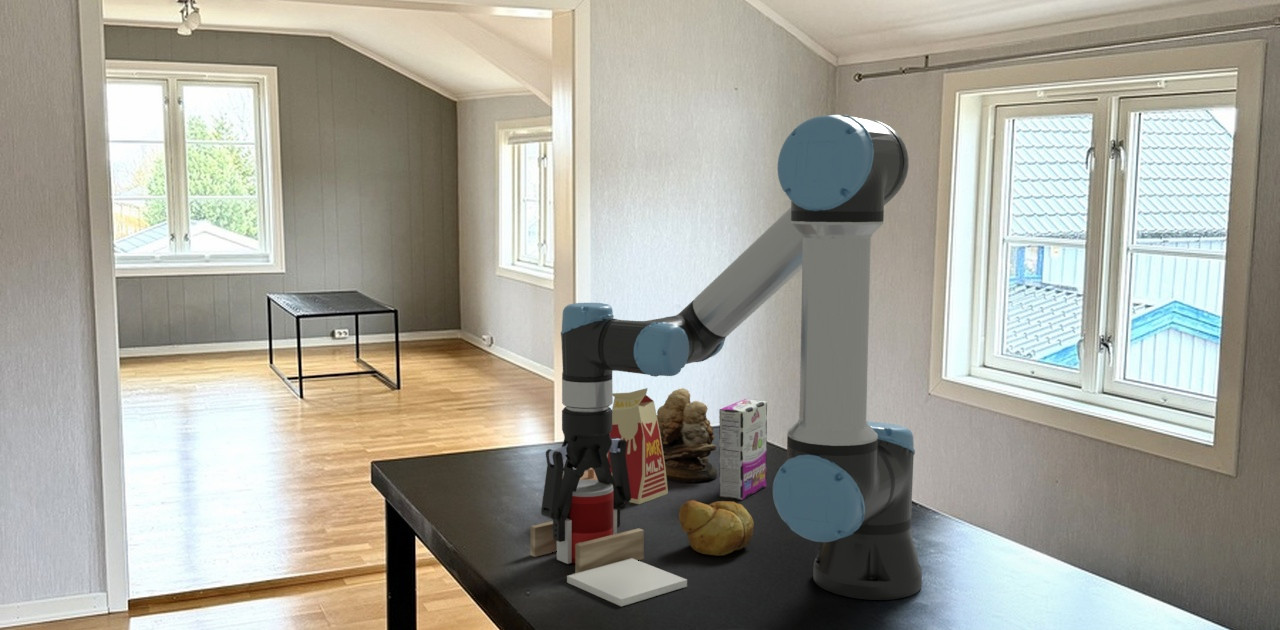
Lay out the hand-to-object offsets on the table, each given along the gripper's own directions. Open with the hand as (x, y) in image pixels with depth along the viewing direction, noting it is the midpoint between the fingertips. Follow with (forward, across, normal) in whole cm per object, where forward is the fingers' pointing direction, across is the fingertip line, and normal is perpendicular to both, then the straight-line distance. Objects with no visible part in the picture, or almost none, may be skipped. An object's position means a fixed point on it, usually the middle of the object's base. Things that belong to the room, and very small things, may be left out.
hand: (587, 554), depth 172 cm
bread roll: (+1, -19, +10) cm, 22 cm away
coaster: (0, +3, +13) cm, 13 cm away
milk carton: (+1, -28, -22) cm, 36 cm away
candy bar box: (+1, -45, -11) cm, 46 cm away
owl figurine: (+1, -46, -28) cm, 54 cm away
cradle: (0, 0, 0) cm, 0 cm away
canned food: (+1, 0, 0) cm, 1 cm away
